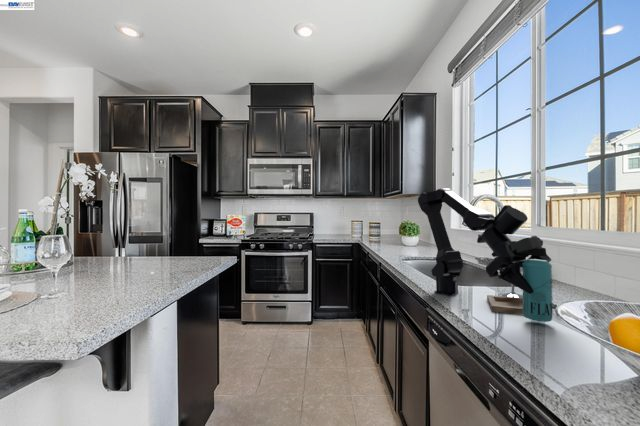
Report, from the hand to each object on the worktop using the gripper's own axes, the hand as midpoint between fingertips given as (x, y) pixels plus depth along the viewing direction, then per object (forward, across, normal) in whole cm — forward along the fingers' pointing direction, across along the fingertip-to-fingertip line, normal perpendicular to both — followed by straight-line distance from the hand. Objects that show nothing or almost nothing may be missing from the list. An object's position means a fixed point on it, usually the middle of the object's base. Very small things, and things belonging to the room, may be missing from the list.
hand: (541, 291), depth 74 cm
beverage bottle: (+5, 0, +7) cm, 9 cm away
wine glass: (-9, +18, +22) cm, 30 cm away
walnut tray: (-3, +6, +15) cm, 17 cm away
